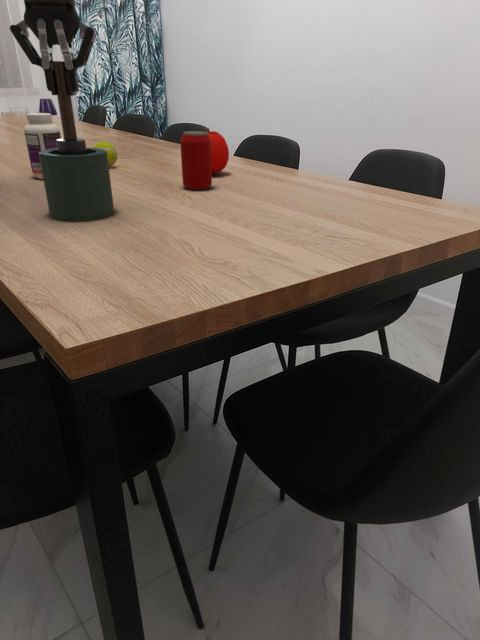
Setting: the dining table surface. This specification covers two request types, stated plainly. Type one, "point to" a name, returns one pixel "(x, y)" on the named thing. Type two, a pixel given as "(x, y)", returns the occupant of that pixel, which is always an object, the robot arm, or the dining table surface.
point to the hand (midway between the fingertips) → (63, 94)
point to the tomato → (218, 151)
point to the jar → (77, 184)
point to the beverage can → (196, 160)
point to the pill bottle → (40, 138)
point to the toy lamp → (47, 107)
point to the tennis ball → (108, 152)
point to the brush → (66, 115)
